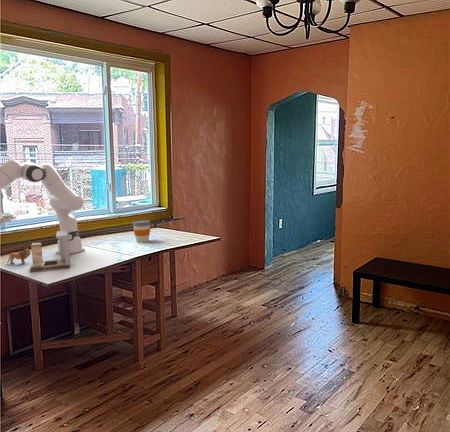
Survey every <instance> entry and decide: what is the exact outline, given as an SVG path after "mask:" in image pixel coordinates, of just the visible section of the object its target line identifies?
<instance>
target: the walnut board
mask: <svg viewBox="0 0 450 432" xmlns="http://www.w3.org/2000/svg"><path fill="white" fill-rule="evenodd" d="M43 262H45V264H44V266H37V267H31V266H30V268H29V269H30V270H29V271H30V273H35V272H44V271H45V272H46V271H56V270H63V269H64V270H65V269H70V268H71V267H70V266H71V258H70V259H69V265H66V263H65V259H64V260H61V258H59V259H49V260H43Z"/></svg>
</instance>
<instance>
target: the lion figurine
mask: <svg viewBox="0 0 450 432" xmlns="http://www.w3.org/2000/svg"><path fill="white" fill-rule="evenodd" d="M30 256H31V251H30V249H29V248H24V249H22V250H21V251H19V252H17V253H16V252H11V253H10V254H9V257H8V261H7V262H5V263H6V264H8V263H9V262H10V264H11V265H15V262H14V259H16V260H20V261H21V264H22V265H25V263H26V261H25V260H26V259H28V257H30Z"/></svg>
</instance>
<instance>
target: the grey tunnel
mask: <svg viewBox="0 0 450 432" xmlns="http://www.w3.org/2000/svg"><path fill="white" fill-rule="evenodd" d="M55 239H58V240H59V242H60V253H59V254H60V259H61V260H64V259H65V263H66V265H69V259H70V260H71V258H70V257H71V256H70V254H69V243H68V231H67V230H66V231H60V230H57V231H56V234H55Z"/></svg>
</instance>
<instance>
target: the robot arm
mask: <svg viewBox="0 0 450 432" xmlns="http://www.w3.org/2000/svg"><path fill="white" fill-rule="evenodd" d="M18 178H20V179H23V180H25V181H28V182H31V183H38V182H41V183H42V184H43V186H44V187H45V189H46V190H47V191H48V193H49V195H51V197H49V205H50V207H51V208H52V209H53V210H54V211H55V213H56V216H57V219H58V224H59V231H66V230H67V231H68V243H69V255H70V254H75V253H76V254H77V253H81V252H83V251H86V249H85V247H84V246H83V244H82V238H81V237H80V235H79V230H78V221H77V218H76V216H75V215H74V214H73V212H75V211H79V210H82V209H83V207H84V199H83V197H82V196H81V195H78V193H76V192H74V191H73V190H72V189H71V188H70V187H69V186H67V184H66V183H65V182H64V180H63V179H62V178H61V176H60V175H59V173H58V172H57V171H56V169H55V168H54V167H53V166H52V165H51V164H50V163H48V162H47V163H41V164H40V165H38V164H36V163H33V162H29V161H17V159H16V160H15V159H9V160H8V161H6V162H4V163H3V164H1V165H0V190H4V189H5V188H7V187H8V186H10V185H11V184H13V182H14V181H15V180H17V179H18ZM13 219H14V215H6V214H5V213H0V226H1V225H2V224H4V223H9V222H11V221H12V220H13ZM55 254H60V242H59V239H58V240H57V249H56V250H55Z"/></svg>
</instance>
